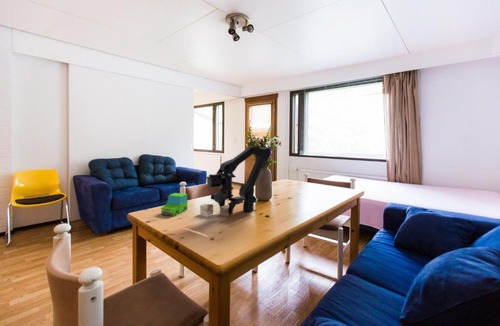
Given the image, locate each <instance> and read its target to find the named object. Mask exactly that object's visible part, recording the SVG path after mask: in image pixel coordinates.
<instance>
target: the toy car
mask: <svg viewBox="0 0 500 326" xmlns="http://www.w3.org/2000/svg"><path fill="white" fill-rule="evenodd" d="M160 208H161V209H160V211H161V213H160V214H161V215H165V216H166V215H167V216H173V217H174V216H175V217H176V216H179V214H181V213H183V212H186V211H187V210H188V194H187V193H180V192H173V193H170V194H169V195H168V197H167V202H165V205H163V206H162V207H160Z"/></svg>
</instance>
